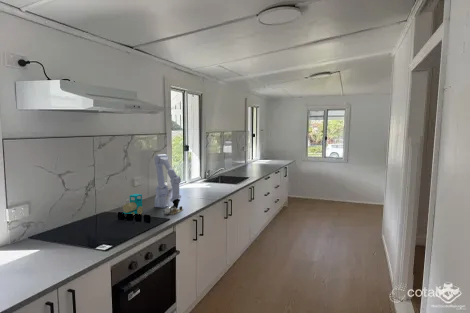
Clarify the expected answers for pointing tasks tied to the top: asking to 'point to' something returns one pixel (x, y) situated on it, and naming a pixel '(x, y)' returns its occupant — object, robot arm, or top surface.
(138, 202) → the toy train
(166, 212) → the tube
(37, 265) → the top surface
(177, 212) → the collar board
